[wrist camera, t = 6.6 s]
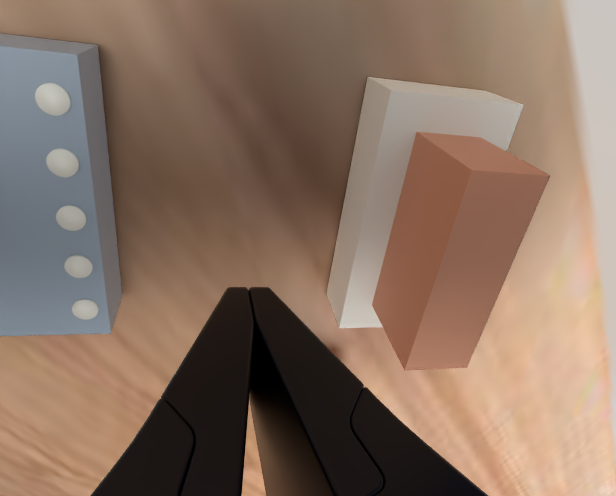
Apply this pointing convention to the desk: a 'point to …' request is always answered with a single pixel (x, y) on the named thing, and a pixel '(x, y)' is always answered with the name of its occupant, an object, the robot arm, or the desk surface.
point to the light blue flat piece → (55, 192)
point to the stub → (430, 218)
